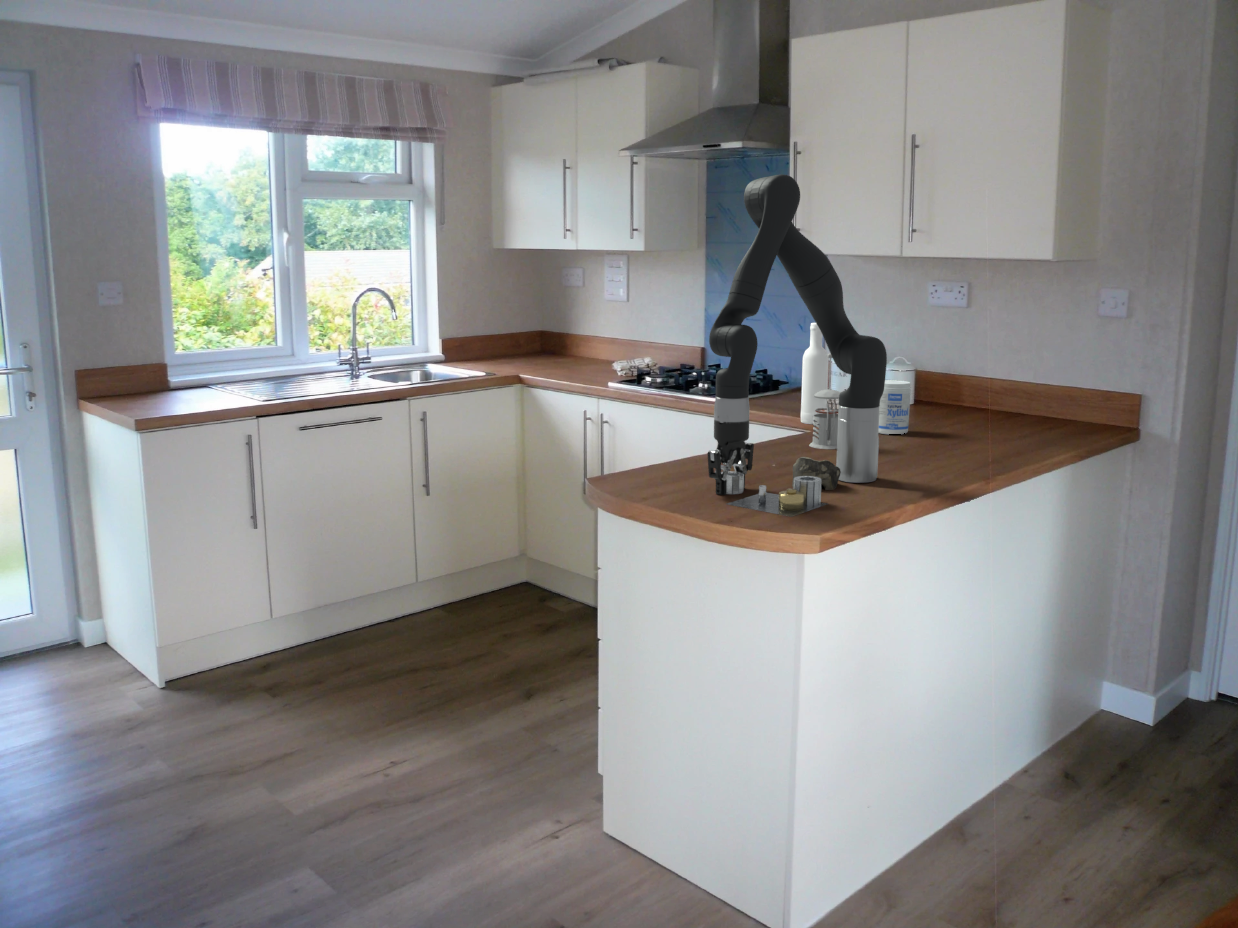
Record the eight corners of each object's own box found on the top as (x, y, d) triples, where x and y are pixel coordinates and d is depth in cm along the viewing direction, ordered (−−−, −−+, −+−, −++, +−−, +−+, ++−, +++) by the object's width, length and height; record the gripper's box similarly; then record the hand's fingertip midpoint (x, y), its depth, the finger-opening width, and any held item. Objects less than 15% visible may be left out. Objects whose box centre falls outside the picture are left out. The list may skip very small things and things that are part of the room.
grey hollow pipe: (797, 498, 227) (798, 475, 226) (823, 500, 225) (824, 477, 224) (789, 503, 222) (790, 480, 221) (815, 506, 220) (816, 482, 219)
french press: (843, 442, 295) (847, 351, 290) (848, 450, 284) (852, 355, 279) (807, 442, 296) (810, 351, 291) (810, 450, 285) (813, 355, 280)
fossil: (833, 482, 245) (841, 448, 238) (840, 509, 238) (848, 474, 231) (786, 481, 244) (792, 446, 238) (791, 508, 237) (798, 473, 231)
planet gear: (727, 492, 238) (727, 470, 237) (748, 496, 234) (748, 473, 233) (712, 496, 234) (712, 474, 233) (733, 500, 230) (733, 477, 229)
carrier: (763, 497, 233) (764, 474, 232) (828, 509, 223) (829, 485, 222) (725, 509, 223) (725, 485, 222) (791, 522, 212) (792, 497, 211)
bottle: (811, 419, 333) (815, 321, 327) (832, 422, 327) (835, 323, 321) (794, 422, 328) (797, 323, 322) (815, 425, 322) (818, 324, 316)
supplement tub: (889, 436, 304) (892, 384, 301) (867, 431, 312) (869, 380, 309) (915, 433, 308) (918, 382, 305) (892, 428, 316) (895, 378, 313)
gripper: (736, 411, 238) (735, 485, 242) (697, 420, 228) (696, 497, 231) (765, 415, 233) (763, 490, 237) (726, 423, 223) (724, 502, 226)
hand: (730, 493), depth 234 cm, fingers open, 6 cm apart
